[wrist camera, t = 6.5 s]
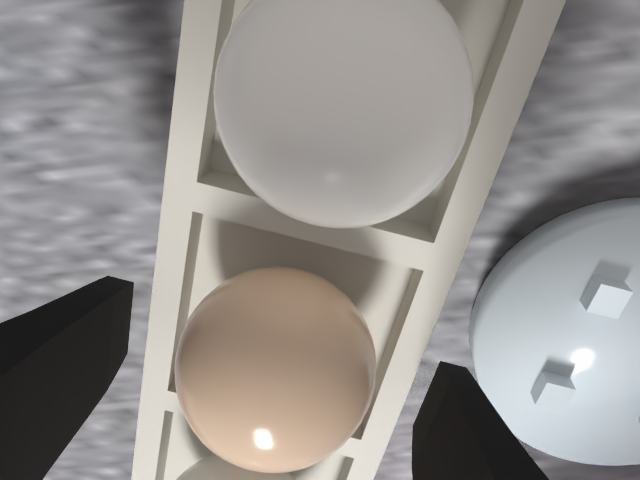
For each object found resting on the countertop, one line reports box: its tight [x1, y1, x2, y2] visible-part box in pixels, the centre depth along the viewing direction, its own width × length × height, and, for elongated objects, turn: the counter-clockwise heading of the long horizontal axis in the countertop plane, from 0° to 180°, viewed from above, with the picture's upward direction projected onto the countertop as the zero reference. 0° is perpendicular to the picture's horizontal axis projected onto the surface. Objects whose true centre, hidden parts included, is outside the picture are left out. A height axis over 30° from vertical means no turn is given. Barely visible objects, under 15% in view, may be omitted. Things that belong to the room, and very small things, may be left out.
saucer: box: [469, 197, 640, 466], centre depth 14 cm, size 8×8×2 cm
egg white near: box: [213, 0, 474, 228], centre depth 9 cm, size 4×4×4 cm
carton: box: [131, 0, 566, 480], centre depth 14 cm, size 7×19×3 cm, turn 167°
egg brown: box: [175, 266, 376, 473], centre depth 12 cm, size 4×4×4 cm
